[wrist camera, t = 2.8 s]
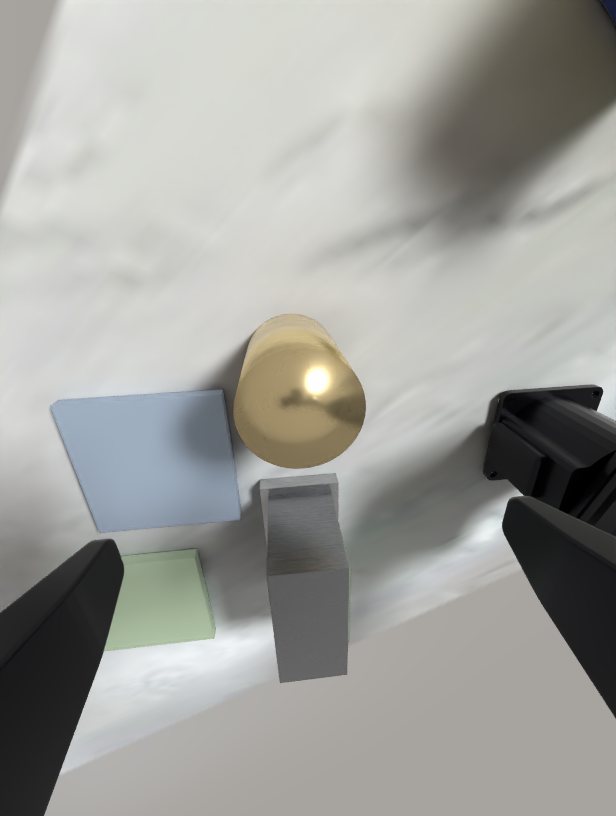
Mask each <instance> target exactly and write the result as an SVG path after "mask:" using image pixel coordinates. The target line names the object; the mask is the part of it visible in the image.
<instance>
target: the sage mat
mask: <svg viewBox="0 0 616 816" xmlns="http://www.w3.org/2000/svg"><path fill="white" fill-rule="evenodd" d="M121 559H122V561H123V564H124V577H123V581H122V585H121V589H120V593H119V596H118V600H117V604H116V608H115V612H114V616H113V619H112V623H111V627H110V631H109V635H108V639H107V642H106V645H105V649H104V651H110V650H119V649H128V648H136V647H145V646H153V645H162V644H171V643H179V642H188V641H197V640H205V639H214V637H215V630H216V627H215V623H214V619H213V614H212V610H211V606H210V602H209V598H208V593H207V589H206V585H205V581H204V576H203V572H202V568H201V564H200V559H199V555H198V551H197V549H189V550H179V551H169V552H158V553H148V554H138V555H128V556H121Z"/></svg>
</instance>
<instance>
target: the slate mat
mask: <svg viewBox="0 0 616 816" xmlns="http://www.w3.org/2000/svg"><path fill="white" fill-rule="evenodd" d="M50 408H51V410H52V413H53V415H54V418H55V420H56V423H57V426H58V428H59V431H60V433H61V436H62V438H63V441H64V443H65V446H66V449H67V451H68V454H69V456H70V459H71V461H72V464H73V466H74V469H75V472H76V474H77V477H78V479H79V482H80V484H81V487H82V490H83V492H84V495H85V497H86V500H87V502H88V505H89V507H90V510H91V513H92V515H93V518H94V520H95V523H96V525H97V528H98V530H99V533H105V532H116V531H126V530H137V529H148V528H159V527H170V526H180V525H191V524H202V523H213V522H223V521H234V520H241V512H242V511H241V504H240V498H239V491H238V485H237V478H236V471H235V465H234V458H233V451H232V445H231V438H230V431H229V425H228V418H227V412H226V405H225V398H224V392H223V389H219V390H204V391H188V392H173V393H158V394H143V395H128V396H113V397H98V398H83V399H68V400H58V401H56V402H55V403H54V404H52V405H51V406H50Z"/></svg>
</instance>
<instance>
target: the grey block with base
mask: <svg viewBox="0 0 616 816" xmlns="http://www.w3.org/2000/svg"><path fill="white" fill-rule="evenodd" d="M260 496H261V505H262V513H263V522H264V530H265V539H266V547H267V582H268V590H269V598H270V606H271V614H272V622H273V631H274V639H275V647H276V655H277V663H278V671H279V679H280V683H283V682H292V681H300V680H307V679H315V678H323V677H331V676H339V675H347V653H348V641H349V621H350V583H351V570H350V566H349V562H348V558H347V554H346V550H345V546H344V541H343V537H342V533H341V529H340V525H339V522H338V480H337V476H336V473H334V474H322V475H311V476H299V477H287V478H275V479H264V480H260Z"/></svg>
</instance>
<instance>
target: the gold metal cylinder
mask: <svg viewBox="0 0 616 816" xmlns="http://www.w3.org/2000/svg"><path fill="white" fill-rule="evenodd" d="M365 411H366V401H365V395H364V391H363V388H362V385H361V383H360V381H359V379H358V378H357V376H356V375H355V373H354V372H353V370H352V369H351V367H350V365H349V364H348V362H347V361H346V359H345V358H344V356H343V355H342V353H341V352H340V350H339V349H338V347H337V346H336V344H335V343H334V341H333V340H332V338H331V337H330V335H329V334H328V332H327V331H326V330H325V328H324V327H323V326H322V325H320V324H319V323H318V322H316V321H315V320H313V319H311V318H309V317H307V316H303V315H298V314H284V315H280V316H276V317H274V318H271V319H269V320H268V321H266V322H265V323H263V324H262V325H261V326H260V327H259V328H258V329H257V330H256V331H255V333H254V334H253V336H252V338H251V339H250V342H249V345H248V348H247V352H246V356H245V360H244V364H243V368H242V372H241V376H240V379H239V383H238V387H237V391H236V395H235V399H234V407H233V414H234V422H235V426H236V429H237V431H238V434H239V436H240V437H241V439H242V441H243V442H244V444H245V445H246V446H247V447H248V448H249V449H250V450H251V451H252V452H253V453H254V454H255V455H257V456H258V457H259V458H261V459H263V460H264V461H266V462H269V463H271V464H274V465H277V466H280V467H285V468H294V469H298V468H310V467H314V466H318V465H321V464H324V463H327V462H329V461H331V460H333V459H334V458H336V457H337V456H339V455H340V454H342V453H343V452H344V451H345V450H346V449H347V448H348V447H349V446H350V445H351V444H352V443H353V442H354V440H355V439H356V437H357V436H358V434H359V432H360V430H361V428H362V425H363V422H364V418H365Z"/></svg>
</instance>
